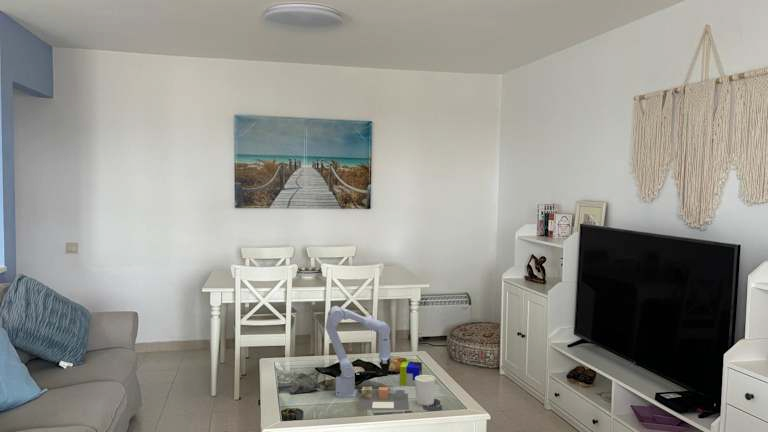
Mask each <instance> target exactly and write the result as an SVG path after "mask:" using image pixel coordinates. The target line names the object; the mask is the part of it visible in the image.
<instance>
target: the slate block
mask: <svg viewBox="0 0 768 432" xmlns="http://www.w3.org/2000/svg"><path fill="white" fill-rule="evenodd" d="M405 392H406V388H405V386H395V387H394V393H395V399H405Z"/></svg>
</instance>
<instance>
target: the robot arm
mask: <svg viewBox="0 0 768 432" xmlns="http://www.w3.org/2000/svg"><path fill="white" fill-rule="evenodd" d="M326 316H327V317H326V322H325V330H326V332H327V335H328V338H329V340H330V343H331V345H332V347H333V350H334V351H335V355H336V357H337V360H338V362H339V365H340V367H339V369H340V371H341V373H340V374H339V376H336V377H335V397H338V398H339V397H341V398H345V397H346V398H349V397H350V398H353V397H354V398H355V397H356V393H357V391H356V389H355V388H356V387H355V386H356V382H355V378H356V375H355V372H356V371H355V368H354V366H353V363H352V362H351V361H350V360H349V358H348V356H347V352H346V351H345V348H344V346H343V343H342V341H341V338H340V336H339V334H338V331H337V327H338V325H339V324H340V322H342V320H344V321H345V320H351V321H355V322H358V323H360V324H363V328H366V329H368V330H369V331H370V330H371V331H373V332H375V333H378V358H379V360H380V361H379V362H378V363H379V366H380V368H381V372H382V376H383V377H388V376H389V371H388V370H389V366H390V364H391V362H389V361H390V359H391V357H394V354H391V338H390V333H391V330H392V329H391V327H390V326H389V325H388V323H386V322H385V321H383V320H378V319H376V318H375V317H374V316H368V317H365V316H362V315H360V314H358V313H356V312H354V311H352V310H350V309H349V308H348V309H347V308H344V307H340V306H338V305H333V306H331V308H329V310H328V312H327V315H326Z"/></svg>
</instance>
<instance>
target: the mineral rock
mask: <svg viewBox="0 0 768 432" xmlns="http://www.w3.org/2000/svg"><path fill="white" fill-rule="evenodd" d="M313 379H314V378H313V377H312V376H310V375H309V374H307V373H304V372H300V373H298V374H293V375H292V377H291V389H290V390H291V391H290V394H294V395H295V394H302V393H308V392H311V391H314V390H317V389H319V388H320V385H319V382H317V381H314V380H313Z"/></svg>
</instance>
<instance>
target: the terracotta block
mask: <svg viewBox="0 0 768 432" xmlns="http://www.w3.org/2000/svg"><path fill="white" fill-rule="evenodd" d="M378 393H379V399H388V393H389V386H379V387H378Z"/></svg>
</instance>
